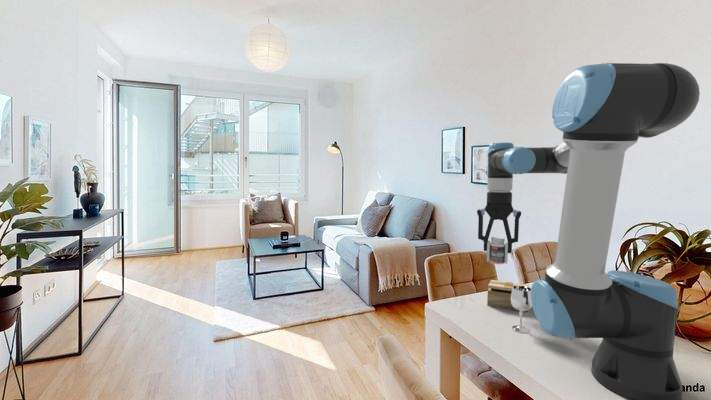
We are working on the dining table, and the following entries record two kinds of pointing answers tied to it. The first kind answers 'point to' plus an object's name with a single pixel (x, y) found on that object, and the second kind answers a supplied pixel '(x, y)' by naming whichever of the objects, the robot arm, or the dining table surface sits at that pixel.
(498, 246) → the pill bottle
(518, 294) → the wineglass
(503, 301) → the crate
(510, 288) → the lid
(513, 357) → the dining table surface
